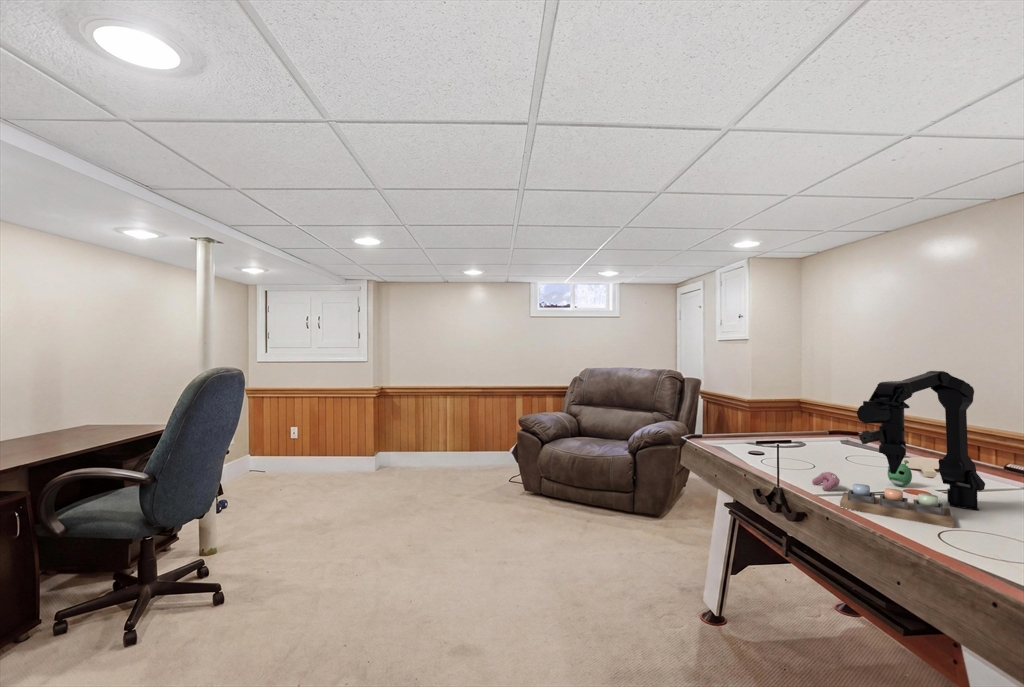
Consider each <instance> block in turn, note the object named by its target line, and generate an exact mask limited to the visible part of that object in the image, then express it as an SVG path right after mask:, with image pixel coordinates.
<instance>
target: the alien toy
mask: <svg viewBox="0 0 1024 687" xmlns="http://www.w3.org/2000/svg"><path fill="white" fill-rule="evenodd" d="M903 462H904V463H901V464H900V466H899V468H898V470H897V472H896V474H891V471H890V468H889V465H888V466H887V477H888V480H889V481H890V482H891V484H893V485H894V486H896V487H900V486H903V487H907V486H908V485H910V483H911V482H912V480H913V473H912V471H911V469H910V467H909V466H908V465H907V464H909V463H910V462H909V461H908V460H907V459H903Z"/></svg>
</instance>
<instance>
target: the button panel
mask: <svg viewBox="0 0 1024 687" xmlns="http://www.w3.org/2000/svg"><path fill="white" fill-rule="evenodd" d="M908 499H909V498H908V497H903V502H900V501H894V500H887V499H885V497H884V494H882V493H881V494H880V493H879V497H878V496H876V493H875V492H870V497H868V496H862V495H855V494H853V489H849V490H848V492H846V491H844V492H843V494H842V496H841V498H840V501H839V508H840V507H843V508H847V509H846V510H848V509H851V510H850V511H854V510H856V511H855V512H859V511H860V512H861V513H865V514H866V513H867V514H871V515H875V516H876V515H879V516H883V517H889V518H896V519H900V520H901V519H902V520H905V521H912V522H916V523H917V522H918V523H922V524H928V525H932V526H933V525H934V526H940V527H947V528H952V529H954V518H953V515H952V511H951V509H950V508H948V507H944V504H943V503H940V502H938V507H932V506H925V505H919V502H918V499H915V498H914V499H913V502H909V501H908ZM860 512H859V513H860Z"/></svg>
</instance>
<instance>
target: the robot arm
mask: <svg viewBox="0 0 1024 687" xmlns="http://www.w3.org/2000/svg"><path fill="white" fill-rule="evenodd" d="M926 389H931V390H932V391H934V393H936V394H937V399H938V402H939V403H940V405H941V406H942V407H943V409H944V411H945V441H946V443H945V445H946V454H945V455H944V456H943V457H942V458H939V459H938V461H937V462H938V470H937V471H938V472H939V475H940V478H941V481H942V484H944V485H948V486H949V488H946V498H947V503H949V505H950V507H955V508H962V509H968V510H969V509H970V510H974V511H979V510H980V509H979V507H978V506H979V505H978V503H979V502H978V491H979V492H982V491H984V490H985V486H986V482H985V481H984V480H983V479H982V478H981V477H980V475H979V474H978V473H977V469H976V468H977V466H976V464H975V463H974V462H973V460H972V459H971V457H970V456H969V446H968V445H969V443H968V423H967V422H968V420H967V410H968V409H969V407H970V406H971V405H972V404H973V402H974V394H975V389H974V387H973V386H972V385H971V384H970V383H969V382H967V381H965V380H964V379H960V378H958V377H955V376H954V375H951V374H950V373H948V372H946V371H943V370H928V371H926V372H925V373H922V374H918V375H916V376H912V377H909V378H906V379H903V380H895V381H893V380H888V381H881V382H879V383H877V386H876V387H875V389H874V391H873V393H872V394H871V396H870V397H869V399H868V400H863V401H862V404H861V405H860V406H859V407H858V409H857V411H856V415H857V418H858V420H859V422H861V423H862V424H867V425H868V424H879V426H878V427H879V428H878V429H875V430H874V429H872V430H869V429H867V430H862V431H861V433H858V434H857V435H858V438H859V440H860V442H861V444H862V445H867V444H870V443H873V442H874V443H876V442H878V443H879V444H878V453H879V454H882V455H884V456H885V457H886V460H887V464H888V466H889V468H890V471H891V474H896V472H897V470H898V468H899V466H900V464H902V462H903V461H904V458H905V456H907V442H906V439H905V436H906V434H905V430H906V429H905V427H906V426H905V409H910V406H909V404H907V403H906V402H905V401H907V400H908V399H910V398H912V396H913V395H914V394H915V393H917V392H920V391H923V390H926Z"/></svg>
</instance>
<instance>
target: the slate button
mask: <svg viewBox="0 0 1024 687" xmlns="http://www.w3.org/2000/svg"><path fill="white" fill-rule="evenodd" d="M852 490H853V494H855V495H862V496H868V497H870V493H871V487H870V486H869V485H866V484H863V483H853V484H852Z"/></svg>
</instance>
